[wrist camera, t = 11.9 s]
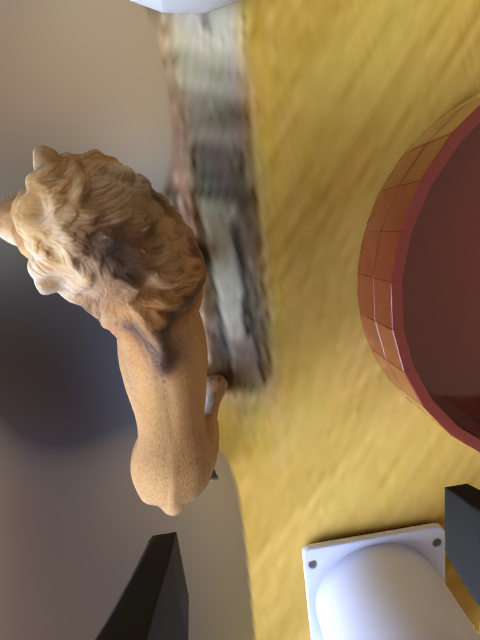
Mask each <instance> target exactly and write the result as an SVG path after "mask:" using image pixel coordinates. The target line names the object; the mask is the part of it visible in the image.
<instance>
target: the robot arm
mask: <svg viewBox="0 0 480 640" xmlns="http://www.w3.org/2000/svg"><path fill="white" fill-rule="evenodd" d="M435 539H436V540H435ZM434 540H435V541H434ZM445 552H446V554H447V555H448V557H449V559H450V561H451V562H452V564H453V566H454V568H455V569H456V571H457V573H458V575H459V576H460V578H461V580H462V581H463V583H464V585H465V586H466V588H467V590H468V591H469V593H470V594H471V596H472V597H473V599H474V600H475V601H476V603H477V604H478V606H479V607H480V490H478V489H476V488H475V487H473V486H471V485H469V484H463V485H456V486H450V487H445V531H444V529H443V528H442V527H441V525H440V524H438V523H430V524H424V525H419V526H413V527H407V528H401V529H395V530H389V531H383V532H378V533H372V534H366V535H360V536H354V537H348V538H342V539H336V540H331V541H325V542H319V543H313V544H309V545H306V546H305V547H304V548H303V550H302V558H303V567H304V577H305V587H306V596H307V606H308V616H309V625H310V635H311V640H480V634H479V633H478V631H477V630H476V628H475V627H474V625H473V624H472V622H471V621H470V619H469V618H468V617H467V615H466V614H465V612H464V611H463V609H462V608H461V606H460V605H459V603H458V602H457V600H456V599H455V597H454V596H453V594H452V593H451V591H450V590H449V588H448V587H447V585H446V584H445ZM312 560H315V561H314V562H310V561H312ZM188 598H189V597H188V591H187V585H186V580H185V575H184V570H183V564H182V559H181V554H180V549H179V543H178V538H177V533H176V532H173V533H168V534H161V535H155V536H152V538H151V539H150V540H149V542H148V544H147V546H146V548H145V550H144V552H143V554H142V556H141V558H140V560H139V562H138V564H137V566H136V568H135V570H134V572H133V574H132V576H131V578H130V579H129V582H128V583H127V585H126V587H125V589H124V591H123V592H122V594H121V596H120V598H119V599H118V601H117V603H116V605H115V607H114V608H113V610H112V612H111V614H110V616H109V617H108V619H107V621H106V622H105V624H104V626H103V627H102V629H101V630H100V632H99V634H98V635H97V637H96V639H95V640H188V605H189V604H188V603H189V600H188Z"/></svg>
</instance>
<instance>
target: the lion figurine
mask: <svg viewBox="0 0 480 640" xmlns="http://www.w3.org/2000/svg"><path fill="white" fill-rule="evenodd" d="M33 166H34V171H33V172H31V173H29V174H28V175H27V177H26V179H25V184H26V187H24V188H22V189H21V190H20V191H19V193H18V194H11V195H8V196H5V197H3V198H2V199H0V237H1V238H3V239H4V240H6V241H7V242H9V243H11V244H13V245H16V246H18V248H19V250H20V251H21V253H22V254H23V255H24V256H26V257H27V258H28V259H29V261H28V266H27V267H28V272H29V273H30V275H31V277H33V279H34V282H35V286H36V287H37V289H38V291H39V292H40V293H41V294H44V295H48V294H51V293H54V292H58V293H59V294H60V295H61V296H62V297H64V298H65V299H66V300H67V301H69V302H70V303H75V304H77V305H80V306H82V307H83V308H84V309H85V310H86V311H87V312H88V313H90V314H91V315H92V316H94V317H96V318H97V319H98V320H99V321H100V323H101V325H102V327H103V328H106V329H109V330H110V331H111V333H112V334H113V335H115V336H116V337H117V346H118V358H119V365H120V370H121V374H122V377H123V381H124V385H125V388H126V391H127V394H128V397H129V400H130V402H131V405H132V408H133V411H134V414H135V417H136V422H137V427H138V439H137V441H136V443H135V445H134V448H133V452H132V458H131V477H132V480H133V483H134V486H135V488H136V490H137V492H138V494H139V496H140V498H141V499H142V501H143V502H145V503H147V504H149V505H157V506H159V507H160V508H161V509H162V510H163V511H164V512H165V513H166V514H168V515H171V516H173V515H177V514H179V513H180V512H181V511H182V510H183V509H184V506H185V504H186V503H188V502H191V501H192V500H194V499H195V498H196V497H198V496H199V495H200V493H201V492H202V491H203V490H204V489H205V487H206V486H207V484H208V482H209V480H213V481H214V480H217V479H218V476H217V475H216V472H215V469H214V468H215V464H216V460H217V455H218V450H219V424H218V419H217V418H218V410H219V405H220V402H221V400H222V398H223V396H224V394H225V392H226V390H227V380H226V379H225V378H224V377H223V376H222V375H210V376H208V377H207V364H208V358H207V343H206V336H205V331H204V326H203V323H202V319H201V316H200V313H199V308H200V305H201V302H202V298H203V285H204V283H205V279H206V272H207V271H206V266H205V261H204V257H203V254H202V252H201V251H200V249H199V247H198V243H197V239H196V238H195V237H194V233H193V231H192V229H191V228H190V227H189V226H187V225H186V223H185V222H184V221H183V218H182V216H181V215H180V214H179V213H178V212H177V211H176V209H175V208H174V207H173V206H171V205H170V203H169V201H168V199H167V198H166V197H165V196H164V195H163V194H161V193H158V192H156V191H155V190H154V189H153V188H152V187H151V183H150V181H149V180H148V179H147V178H146V177H145V176H143V175H141V174H139V173H135V172H134V171H133V170H132V168H129V167H127V166H124V165H123V164H121V163H120V162H119V161H118V160H117V159H116V158H115V157H111V156H107V155H104V154H103V153H101V152H100V151H99V150H97V149H94V150H89V151H87V152H86V153H84V154H70V153H63V154H59V153H57V152H56V151H55V150H53V149H52V148H49V147H46V146H37V147H36V148H35V149H34V150H33Z"/></svg>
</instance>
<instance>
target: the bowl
mask: <svg viewBox="0 0 480 640" xmlns="http://www.w3.org/2000/svg"><path fill="white" fill-rule="evenodd" d="M358 299H359V307H360V316H361V319H362V323H363V327H364V331H365V335H366V338H367V340H368V342H369V345H370V347H371V350H372V352H373V354H374V356H375V358H376V360H377V361H378V363H379V365H380V366H381V368H382V370H383V371H384V373H385V374H386V376H387V377H388V379H389V380H390V381H391V382H392V383H393V384H394V385H395V386H396V388H397V389H398V390H400V391H401V392H402V393H403V394H404V395H405V396H406V397H407V398H408V399H409V400H410V401H411V402H412V403H413V404H414V405H415V406H416V407H418V408H419V409H420V410H421V411H422V412H424V413H425V414H426V415H427V416H428V417H430V418H431V419H432V420H433V421H434V422H436V423H437V424H438V425H439V426H440V427H442V428H443V429H444V430H445V431H446V432H448V433H449V434H450V435H451V436H453V437H455V438H456V439H458V440H460V441H461V442H463V443H465V444H467V445H468V446H470V447H472V448H473V449H475V450H477V451H478V452H480V92H479V93H477V94H475V95H474V96H472V97H471V98H469V99H468V100H466V101H464V102H463V103H461V104H460V105H459V106H457V107H456V108H454V109H453V110H451V111H450V112H448V113H446V114H445V115H443V116H442V117H441V118H440V119H438V120H437V121H436V122H435V123H434V124H433V125H432V126H431V127H430V128H429V129H427V130H426V131H425V132H424V133H423V134H422V135H421V136H420V137H419V138H418V139H417V140H416V142H415V143H414V144H413V145H412V146H411V147H410V148H409V149H408V150H407V152H406V153H405V154H404V155H403V157H402V158H401V160H400V161H399V162H398V164H397V165H396V167H395V168H394V170H393V171H392V172H391V174H390V175H389V177H388V179H387V181H386V183H385V184H384V186H383V188H382V190H381V192H380V194H379V196H378V197H377V200H376V202H375V205H374V207H373V210H372V212H371V215H370V217H369V220H368V223H367V226H366V230H365V234H364V238H363V241H362V245H361V252H360V259H359V266H358Z"/></svg>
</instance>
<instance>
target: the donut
mask: <svg viewBox="0 0 480 640" xmlns="http://www.w3.org/2000/svg"><path fill="white" fill-rule="evenodd" d="M130 1H133V2H135V3H138V4H141V5H144V6H146V7H149V8H152V9H154V10H157V11H160V12H163V13H207V12H210V11H213V10H215V9H218V8H221V7H223V6H226V5H229V4H231V3H234V2H237V1H239V0H130Z"/></svg>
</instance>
